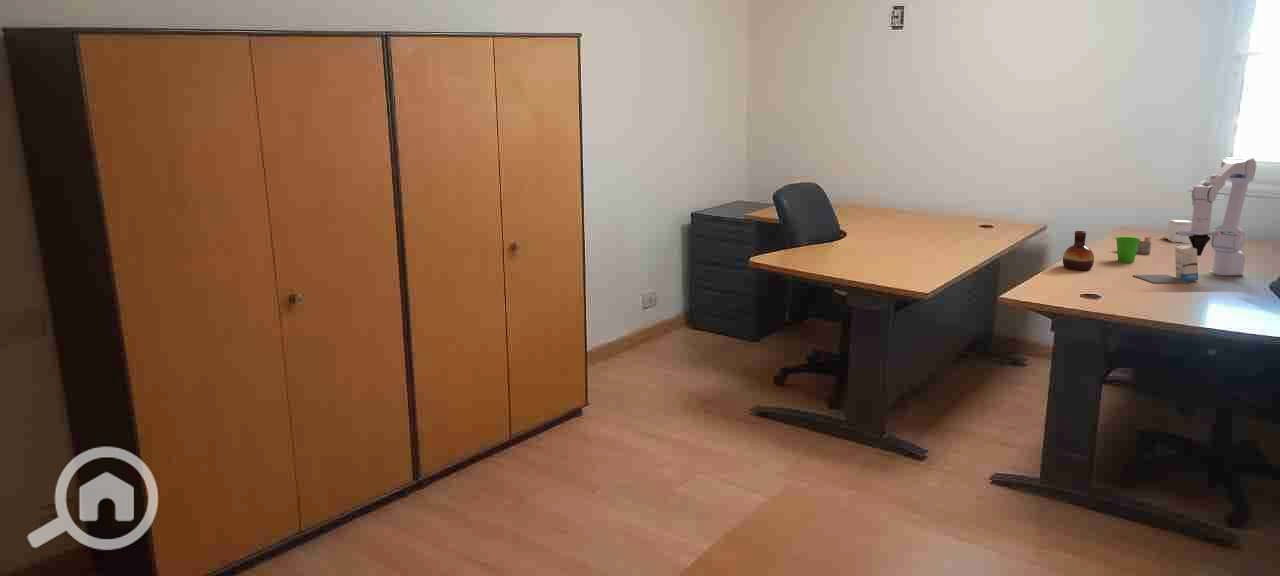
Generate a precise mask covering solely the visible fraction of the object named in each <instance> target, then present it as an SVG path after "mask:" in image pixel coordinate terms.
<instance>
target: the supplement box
mask: <svg viewBox="0 0 1280 576" xmlns="http://www.w3.org/2000/svg"><path fill="white" fill-rule="evenodd" d="M1191 226H1192V220H1187V219H1184V220H1182V219H1169V220H1168V225H1167V235H1166V237H1167V238H1166V240H1167V239H1168V240H1167V241H1169V240H1170V241H1169V242H1171V241H1172V242H1171V243H1173V242H1182V243H1181V244H1191V241H1190V239H1189V236H1179V231H1182V230H1191Z"/></svg>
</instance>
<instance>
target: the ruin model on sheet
mask: <svg viewBox="0 0 1280 576" xmlns="http://www.w3.org/2000/svg"><path fill="white" fill-rule="evenodd" d="M1151 239H1152V237H1151V236H1145V237H1144V240H1140V241H1139V245H1138V248H1137V252H1136V254H1141V255H1149V254H1150V255H1151V249H1152V241H1151Z"/></svg>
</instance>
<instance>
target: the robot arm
mask: <svg viewBox="0 0 1280 576" xmlns="http://www.w3.org/2000/svg"><path fill="white" fill-rule="evenodd" d="M1256 170H1257V163H1256V160H1255V158H1254V157H1229V156H1226V157H1224V158H1223V160H1222V161H1221V165H1220V169H1219V170H1218V172H1217V173H1216V174H1211V175H1210V176H1208V178H1206V180H1205V181H1203V182H1202V184H1201V185H1196V186H1194V187H1193V189H1192V190H1191V191H1192V192H1191V199H1192V201H1191V202H1192V206H1193V210H1192V219H1191V222H1192V226H1191V230H1182V231H1179V236H1189V239H1190V241H1191V242H1190V244H1191V247H1193V248H1196V249H1197V257H1200V256H1202V255H1203V251H1204V249H1205V247H1206V246H1207V244H1208V242H1209V241H1210V242H1209V244H1210V246H1211V248H1212V250H1213V251H1214V255H1213V264H1212V270H1207V272H1208V273H1210V274H1213V275H1216V276H1244V275H1245V274H1244V270H1245V269H1244V267H1245V261H1246V260H1245V259H1246V258H1245V253H1243V251H1241V250H1242V249H1243V248H1244V245H1245V231H1244V230H1243V229H1242V228H1241V227H1240V226H1239V224H1240V219H1241V215H1242V210H1243V206H1244V202H1245V197H1246V194H1247V191H1248V190H1247V189H1248V185H1249V183H1251V182H1253V181H1254V177H1255V174H1256ZM1226 180H1227V181H1228V182H1229V181H1230V182H1231V188H1230V192H1229V196H1228V201H1227V206H1226V209H1225V213H1224V217H1223V223H1222V224H1221V225H1219V226H1217V227H1215V228H1214V229H1210V228H1211V219H1212V212H1213V211H1212V210H1213V202H1215V201H1216V199H1217V197H1218V196H1217V195H1218V194H1219V191H1220V190H1222V189H1223V187H1225V185H1226Z"/></svg>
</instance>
